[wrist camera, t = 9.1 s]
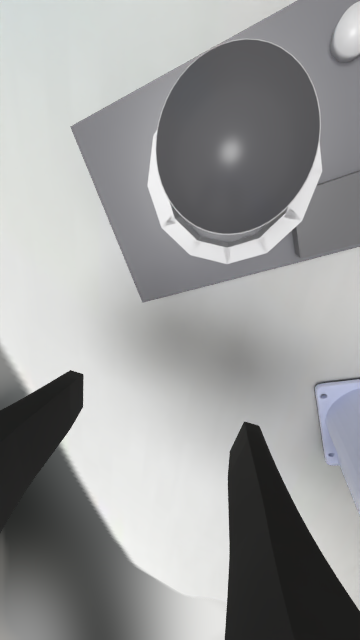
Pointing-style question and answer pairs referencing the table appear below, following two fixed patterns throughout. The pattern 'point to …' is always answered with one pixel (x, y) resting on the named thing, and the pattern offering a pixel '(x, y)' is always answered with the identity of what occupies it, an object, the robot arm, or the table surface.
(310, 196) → the camera body
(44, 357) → the table surface
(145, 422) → the table surface
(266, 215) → the lens
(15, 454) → the robot arm
